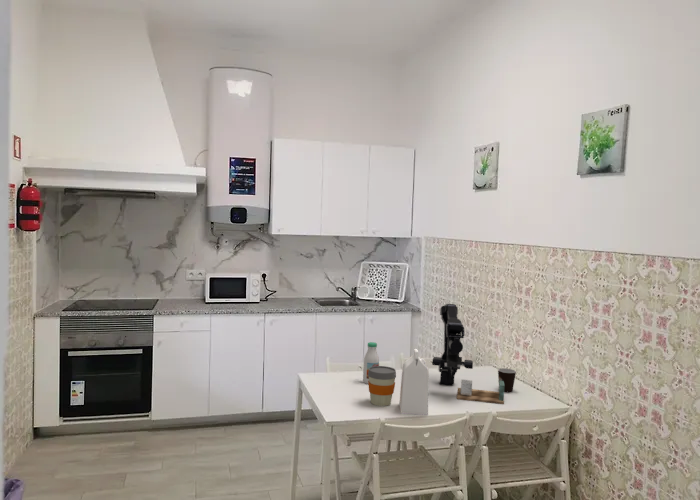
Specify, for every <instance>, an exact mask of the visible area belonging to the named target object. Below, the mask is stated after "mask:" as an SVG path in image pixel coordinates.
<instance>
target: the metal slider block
mask: <svg viewBox="0 0 700 500" xmlns="http://www.w3.org/2000/svg"><path fill="white" fill-rule="evenodd" d="M460 383H461V384H460V388H461V395H467V396H472V389H473V380H468V379H461V381H460Z"/></svg>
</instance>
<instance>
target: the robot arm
mask: <svg viewBox="0 0 700 500" xmlns="http://www.w3.org/2000/svg"><path fill="white" fill-rule="evenodd" d="M458 310H459V308H458V306H457V305H456V304H455V303H446V304H444V305H442V306H441V307H440V308H439V316H440V317H441V321H442V322H443V325H444V328H443V331H444V332H443V333H444V334H443V353H442V355H441V356H433V357H432V363H431V365H432V366H438V372H439V373H440V379H439V385H442V386H443V385H444V386H454V384H455V376H456V374H457V372H458V370H461V366H462V367H464V368H465V369H468V370H469V369H470V370H472V369H473V368H474V365H473V364H474V361H473V360H471V359H464V361H463V357H461V356H460V353H461V352H463V349H464V345H463V343H462V341H461V339H465V335H466V334H465V327H464V324H462V321H461V319H459V318H458V314H459V313H458V312H459V311H458Z"/></svg>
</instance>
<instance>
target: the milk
mask: <svg viewBox="0 0 700 500" xmlns="http://www.w3.org/2000/svg"><path fill="white" fill-rule="evenodd" d="M401 369H402V371H401V379H400V380H401V382H400V391H399V392H400V393H399V401H398V402H399V410H400V415H401V414H404V415H405V414H406V415H422V416H423V415H424V416H425V415H426V416H428V415H429V387H430V386H429V385H430V381H429V379H430V378H429V377H430V375H429V368H428V365H427V361H426V360H425V359H424V358H423V357H420V356H419V349H417V348H414V349H413V354H412V355H411V356H410V357H408V359H406V360H405V361H404V362H403V363H402V367H401Z"/></svg>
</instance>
